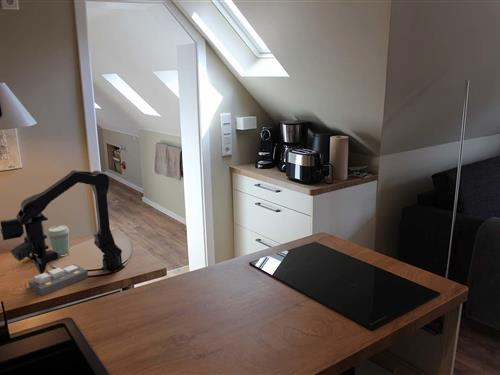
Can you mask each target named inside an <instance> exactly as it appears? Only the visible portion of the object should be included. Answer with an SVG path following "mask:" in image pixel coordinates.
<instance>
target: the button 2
mask: <svg viewBox="0 0 500 375" xmlns="http://www.w3.org/2000/svg"><path fill="white" fill-rule="evenodd" d="M67 266H68V267H67ZM67 266H65V267H66V268H65V267H62V268H63V270H64V272H66V273H68V274H69V273H71V272H74V271H77V270H78V267H76V266H74V265H73V264H71V266H70V265H67Z"/></svg>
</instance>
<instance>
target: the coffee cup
mask: <svg viewBox="0 0 500 375" xmlns="http://www.w3.org/2000/svg"><path fill="white" fill-rule="evenodd" d="M69 232H70V229H69V228H68V226H67V225H65V224H64V225H63V224H62V225H54V226H51V227H49V228H48V230H47V236H48V238H49V241H50V244H51V248H52V249H51V250H52V251H54V252H56V253H58V255H59V256H61V255H65V254H68V253H70V244H69V243H70V241H69V238H70V237H69ZM68 255H69V254H68Z"/></svg>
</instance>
